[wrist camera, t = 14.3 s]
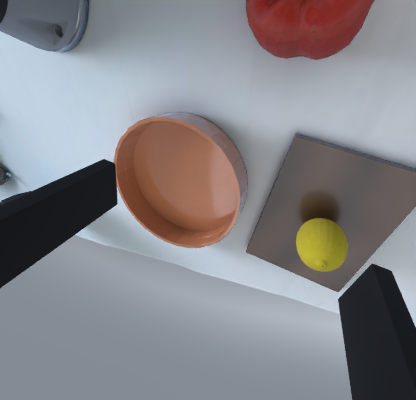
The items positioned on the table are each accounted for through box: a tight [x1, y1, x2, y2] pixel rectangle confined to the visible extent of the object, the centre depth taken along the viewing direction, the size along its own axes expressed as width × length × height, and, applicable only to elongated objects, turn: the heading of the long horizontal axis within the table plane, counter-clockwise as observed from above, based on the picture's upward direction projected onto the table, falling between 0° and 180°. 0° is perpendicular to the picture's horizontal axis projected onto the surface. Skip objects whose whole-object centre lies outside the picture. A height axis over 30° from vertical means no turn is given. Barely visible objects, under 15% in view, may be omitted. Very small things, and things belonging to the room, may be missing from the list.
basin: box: [114, 112, 248, 248], centre depth 35 cm, size 21×21×4 cm
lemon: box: [296, 218, 348, 272], centre depth 27 cm, size 6×6×8 cm
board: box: [246, 133, 416, 292], centre depth 30 cm, size 15×20×2 cm
